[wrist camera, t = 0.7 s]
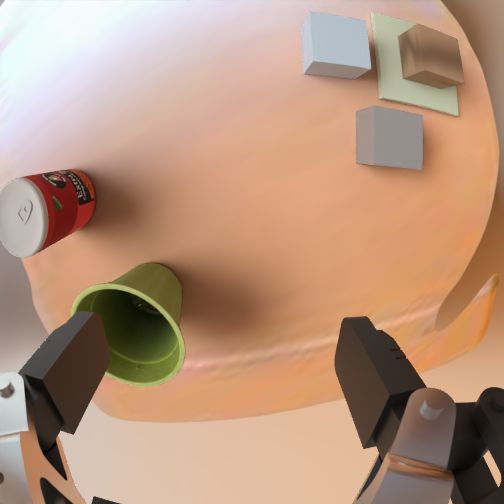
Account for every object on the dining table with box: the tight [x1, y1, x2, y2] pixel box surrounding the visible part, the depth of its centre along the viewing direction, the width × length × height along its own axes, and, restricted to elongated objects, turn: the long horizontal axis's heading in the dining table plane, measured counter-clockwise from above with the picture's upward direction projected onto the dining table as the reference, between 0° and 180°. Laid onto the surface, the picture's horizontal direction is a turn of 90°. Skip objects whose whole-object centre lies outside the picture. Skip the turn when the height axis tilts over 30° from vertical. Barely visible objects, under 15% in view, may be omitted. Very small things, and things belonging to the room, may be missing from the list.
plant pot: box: [70, 263, 185, 387], centre depth 29 cm, size 12×12×11 cm
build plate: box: [370, 12, 458, 116], centre depth 26 cm, size 12×12×1 cm
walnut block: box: [398, 24, 464, 89], centre depth 23 cm, size 6×6×5 cm
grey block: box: [356, 106, 423, 170], centre depth 27 cm, size 6×6×5 cm
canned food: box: [0, 169, 96, 258], centre depth 26 cm, size 8×8×11 cm
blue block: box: [301, 12, 371, 80], centre depth 24 cm, size 6×6×5 cm
